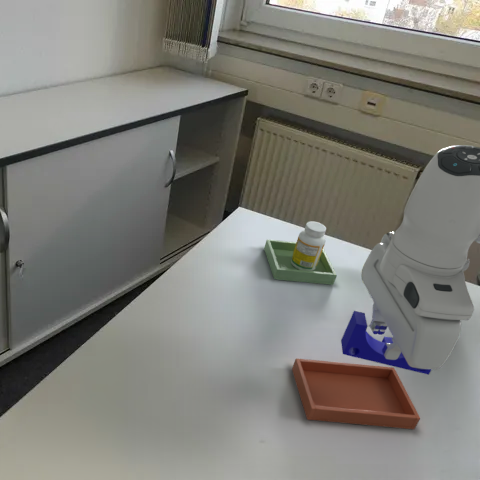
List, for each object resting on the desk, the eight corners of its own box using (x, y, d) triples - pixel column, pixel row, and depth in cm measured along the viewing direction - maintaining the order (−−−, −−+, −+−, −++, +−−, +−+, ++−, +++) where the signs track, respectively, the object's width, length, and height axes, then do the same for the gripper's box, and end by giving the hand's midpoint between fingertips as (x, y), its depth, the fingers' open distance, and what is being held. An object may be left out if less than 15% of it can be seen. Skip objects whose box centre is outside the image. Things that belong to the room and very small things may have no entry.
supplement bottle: (303, 274, 111) (316, 235, 106) (285, 260, 115) (296, 222, 110) (321, 268, 114) (335, 230, 109) (303, 255, 118) (315, 217, 112)
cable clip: (422, 353, 81) (438, 323, 78) (428, 374, 78) (446, 344, 74) (340, 334, 83) (352, 304, 80) (342, 354, 79) (356, 323, 76)
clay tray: (388, 377, 89) (394, 367, 88) (414, 429, 81) (420, 418, 79) (291, 368, 89) (295, 358, 88) (307, 419, 81) (311, 408, 79)
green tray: (318, 253, 120) (321, 244, 118) (333, 284, 110) (337, 275, 109) (264, 248, 119) (266, 239, 118) (274, 279, 110) (277, 269, 109)
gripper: (368, 223, 80) (339, 296, 87) (428, 315, 63) (386, 395, 70) (410, 227, 80) (378, 300, 87) (482, 320, 63) (434, 400, 70)
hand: (382, 343), depth 79 cm, fingers closed on cable clip, 4 cm apart
